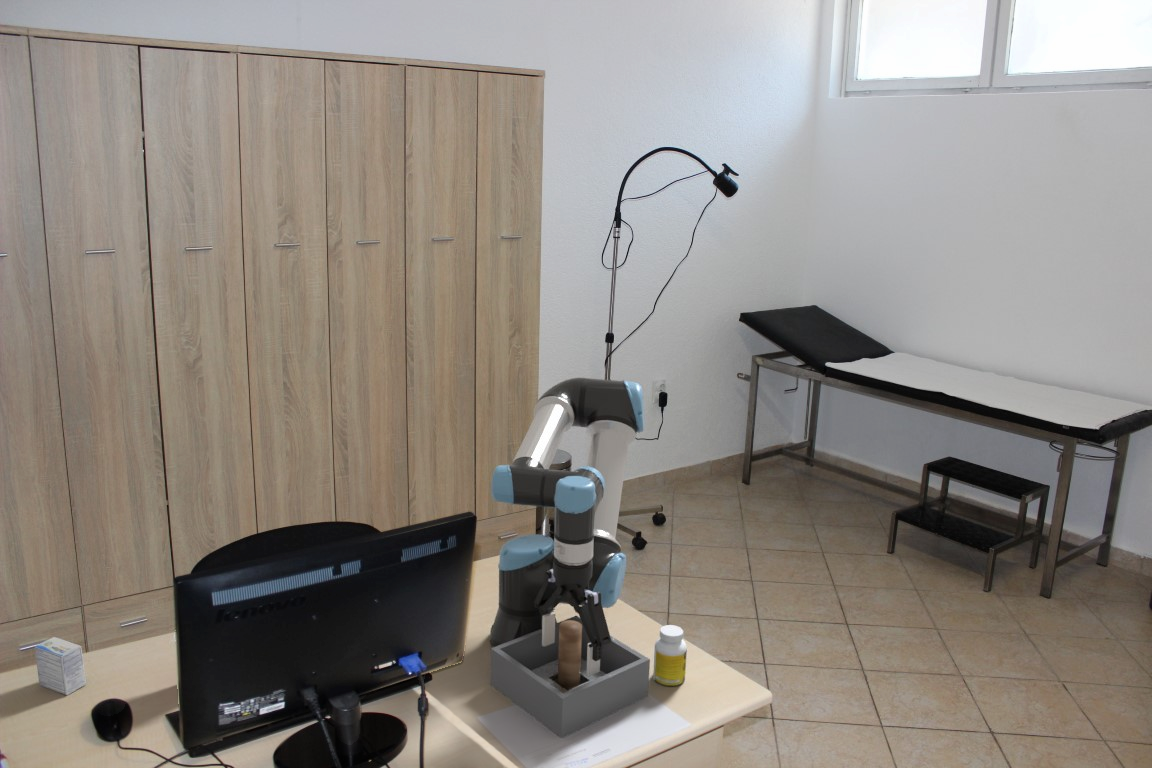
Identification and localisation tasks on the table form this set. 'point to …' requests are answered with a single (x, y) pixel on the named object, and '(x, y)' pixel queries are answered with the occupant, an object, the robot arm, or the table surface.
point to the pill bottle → (670, 657)
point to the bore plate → (551, 674)
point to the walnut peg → (569, 654)
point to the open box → (577, 705)
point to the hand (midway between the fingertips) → (570, 658)
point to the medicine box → (60, 665)
